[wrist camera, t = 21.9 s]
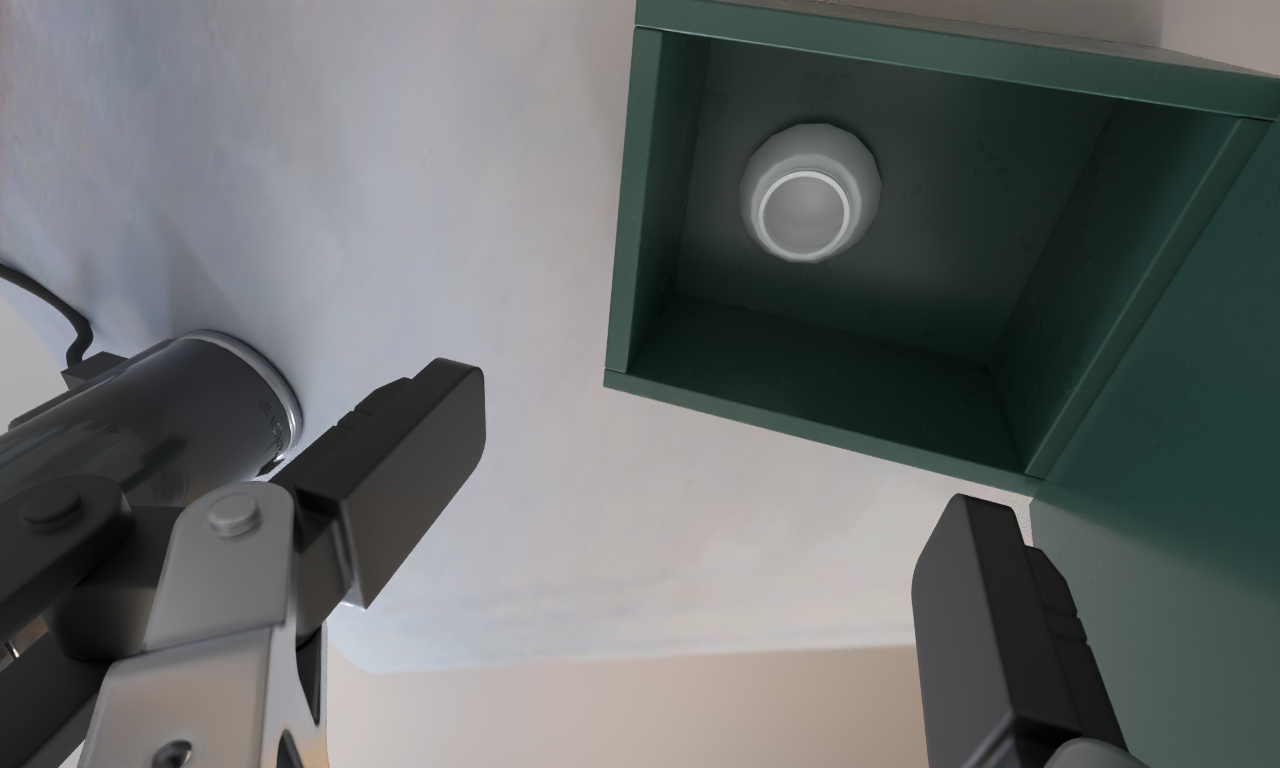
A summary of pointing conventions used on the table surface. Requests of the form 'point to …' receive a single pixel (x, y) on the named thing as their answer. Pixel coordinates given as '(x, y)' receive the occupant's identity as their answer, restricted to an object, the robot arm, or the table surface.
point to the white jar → (809, 193)
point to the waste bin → (913, 224)
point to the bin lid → (1187, 501)
